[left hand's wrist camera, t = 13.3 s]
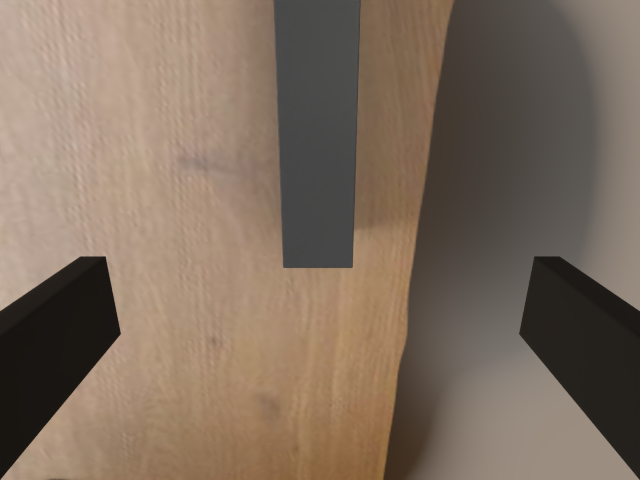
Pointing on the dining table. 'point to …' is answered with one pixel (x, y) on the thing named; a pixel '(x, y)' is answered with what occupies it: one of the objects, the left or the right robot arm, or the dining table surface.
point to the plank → (317, 129)
